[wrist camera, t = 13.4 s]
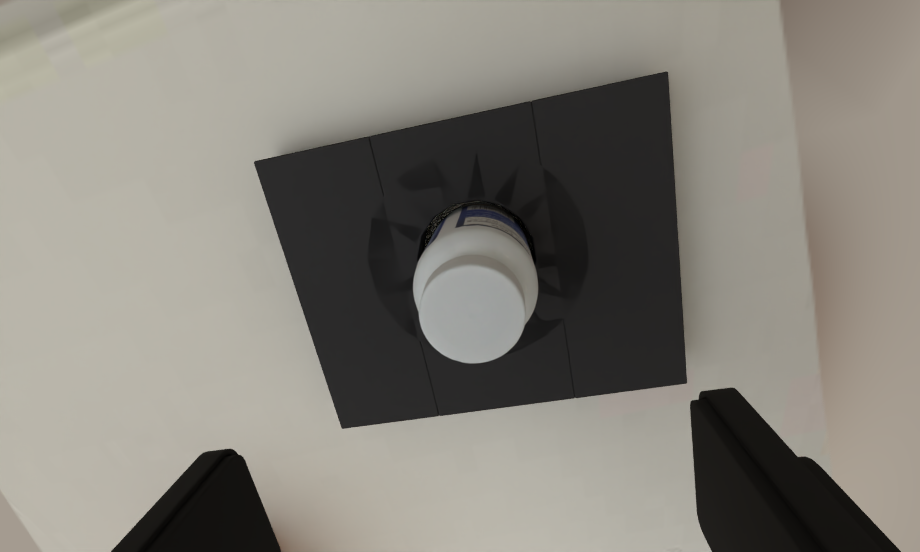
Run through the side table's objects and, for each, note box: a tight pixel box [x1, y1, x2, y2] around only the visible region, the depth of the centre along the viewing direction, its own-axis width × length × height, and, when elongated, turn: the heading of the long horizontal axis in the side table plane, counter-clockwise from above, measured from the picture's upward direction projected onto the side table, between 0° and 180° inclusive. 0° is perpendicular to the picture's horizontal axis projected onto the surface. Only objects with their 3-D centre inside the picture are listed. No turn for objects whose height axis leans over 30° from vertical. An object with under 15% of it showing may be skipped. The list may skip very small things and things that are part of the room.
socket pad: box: [254, 72, 687, 429], centre depth 25 cm, size 20×16×2 cm
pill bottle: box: [413, 203, 538, 363], centre depth 21 cm, size 5×5×10 cm
